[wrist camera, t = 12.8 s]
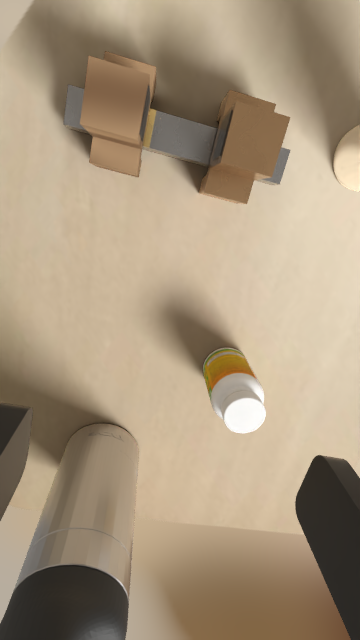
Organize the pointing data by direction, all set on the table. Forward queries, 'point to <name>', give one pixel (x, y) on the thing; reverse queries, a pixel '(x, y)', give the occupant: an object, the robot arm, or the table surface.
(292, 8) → the table surface
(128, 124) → the tan stepped block
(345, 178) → the beer glass
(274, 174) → the rail
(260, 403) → the supplement bottle
